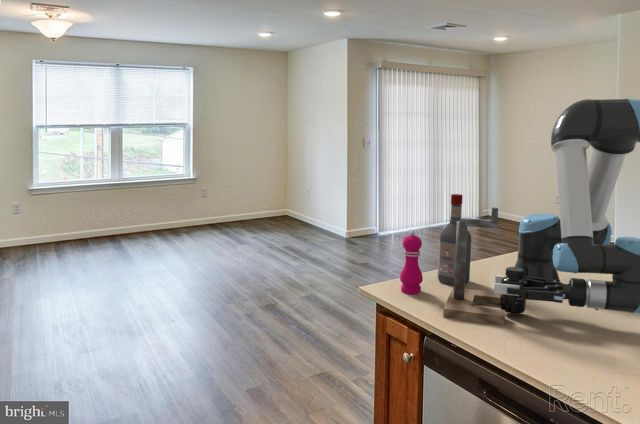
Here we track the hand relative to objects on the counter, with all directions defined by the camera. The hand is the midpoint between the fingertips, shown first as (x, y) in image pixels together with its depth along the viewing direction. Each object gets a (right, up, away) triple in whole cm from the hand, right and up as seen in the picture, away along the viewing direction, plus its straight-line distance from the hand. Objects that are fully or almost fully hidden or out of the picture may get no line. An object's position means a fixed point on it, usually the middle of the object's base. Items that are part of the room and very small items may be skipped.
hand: (494, 284), depth 142 cm
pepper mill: (-20, -5, +20) cm, 29 cm away
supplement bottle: (+5, -7, -1) cm, 9 cm away
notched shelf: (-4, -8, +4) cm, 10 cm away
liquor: (-4, -4, +30) cm, 30 cm away
